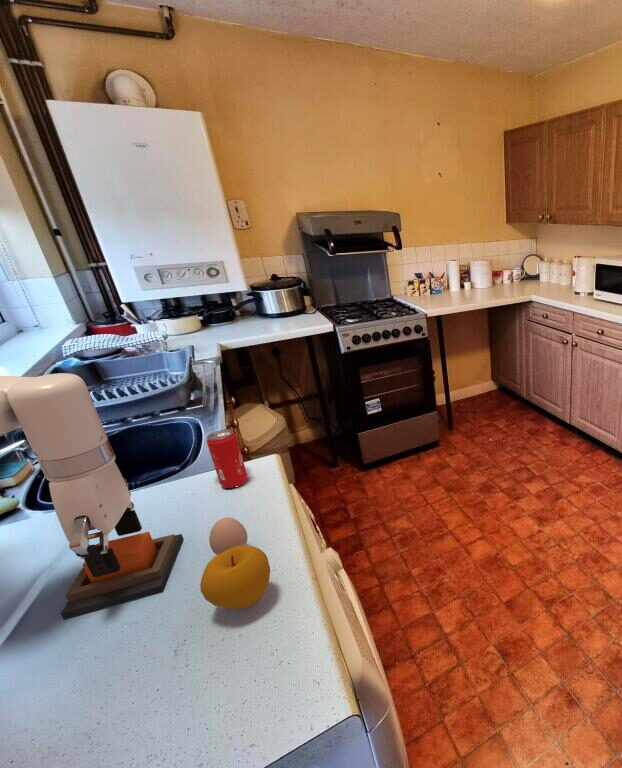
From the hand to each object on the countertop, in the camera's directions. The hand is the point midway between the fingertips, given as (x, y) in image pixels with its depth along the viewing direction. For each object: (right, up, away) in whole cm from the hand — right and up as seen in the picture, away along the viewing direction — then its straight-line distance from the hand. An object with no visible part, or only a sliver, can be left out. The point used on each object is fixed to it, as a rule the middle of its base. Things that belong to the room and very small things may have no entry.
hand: (119, 551), depth 69 cm
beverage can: (+2, +5, +26) cm, 26 cm away
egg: (+15, -3, +6) cm, 16 cm away
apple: (+22, -6, -4) cm, 23 cm away
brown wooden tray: (0, -5, +2) cm, 5 cm away
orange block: (0, -3, +1) cm, 4 cm away
